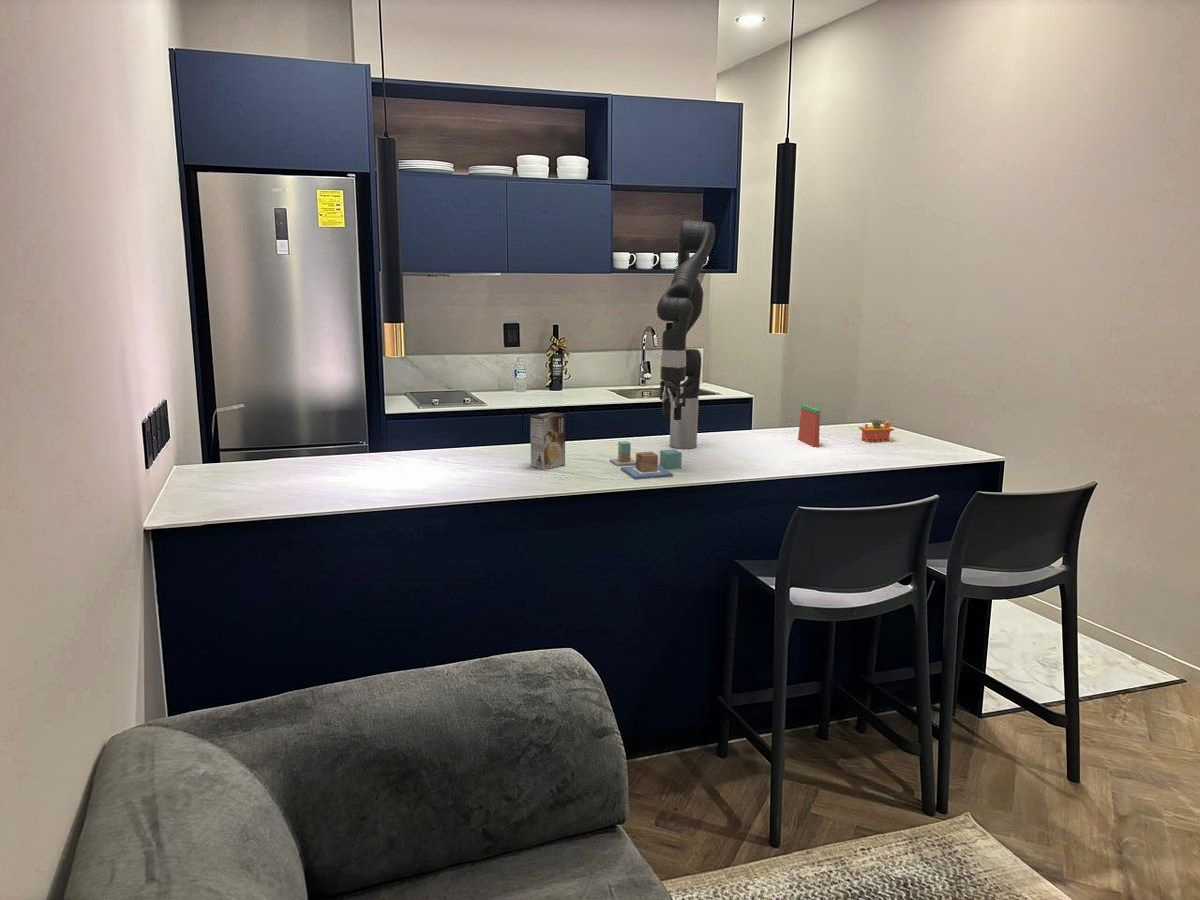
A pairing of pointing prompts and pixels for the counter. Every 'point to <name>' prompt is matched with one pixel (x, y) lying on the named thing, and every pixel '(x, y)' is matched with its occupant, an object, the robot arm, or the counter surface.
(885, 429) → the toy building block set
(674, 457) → the teal cube
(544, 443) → the coffee box
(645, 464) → the walnut cube
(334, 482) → the counter surface
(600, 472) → the counter surface
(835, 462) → the counter surface
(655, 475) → the board
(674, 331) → the robot arm
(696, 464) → the counter surface
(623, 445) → the stacked block model
